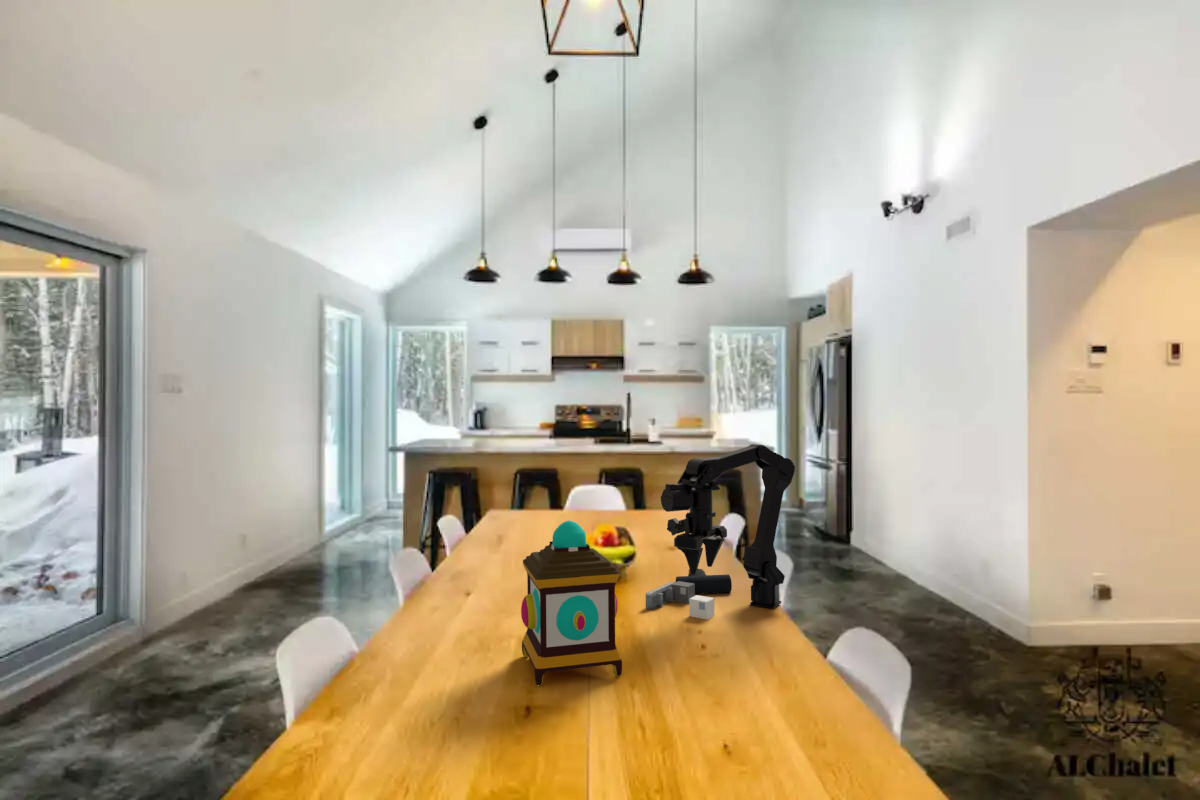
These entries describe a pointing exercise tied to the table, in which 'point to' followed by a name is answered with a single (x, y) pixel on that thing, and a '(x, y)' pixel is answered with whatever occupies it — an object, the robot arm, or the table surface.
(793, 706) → the table surface
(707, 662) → the table surface
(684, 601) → the block
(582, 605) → the decorative lantern
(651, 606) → the rail
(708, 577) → the pipe connector
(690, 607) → the block
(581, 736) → the table surface
